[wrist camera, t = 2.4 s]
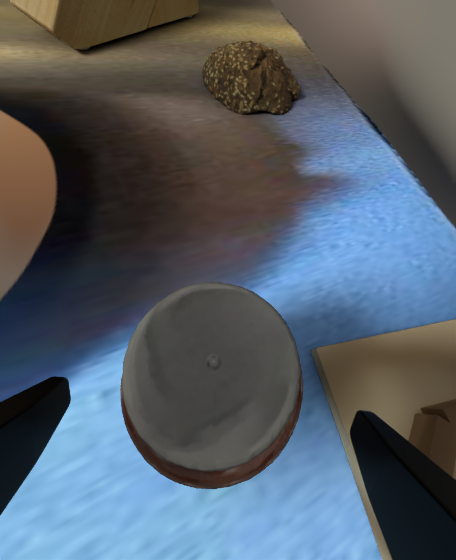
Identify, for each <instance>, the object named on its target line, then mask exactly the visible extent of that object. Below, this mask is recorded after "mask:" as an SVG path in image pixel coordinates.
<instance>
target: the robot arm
mask: <svg viewBox="0 0 456 560" xmlns="http://www.w3.org/2000/svg"><path fill="white" fill-rule="evenodd" d="M70 400H71V396H70V389H69V381H68V379H67V378H64V377H50V378H48V379H46V380H44V381H42V382H40V383H38V384H36V385H34V386H32V387H30V388H28V389H26V390H24V391H22V392H20V393H18V394H16V395H14V396H12V397H10V398H8V399H6V400H4V401H2V402H0V515H1V514H2V512H3V511H4V509H5V508H6V506H7V505H8V503H9V502H10V501H11V499H12V498H13V496H14V495H15V493H16V492H17V490H18V489H19V487H20V486H21V484H22V483H23V482H24V480H25V479H26V477H27V476H28V474H29V473H30V471H31V470H32V468H33V467H34V465H35V464H36V462H37V461H38V459H39V457H40V456H41V454H42V452H43V451H44V449H45V447H46V445H47V444H48V442H49V440H50V438H51V437H52V435H53V433H54V431H55V430H56V428H57V426H58V424H59V423H60V421H61V419H62V417H63V416H64V414H65V412H66V410H67V409H68V407H69V404H70ZM350 438H351V442H352V445H353V448H354V452H355V455H356V458H357V462H358V465H359V469H360V472H361V475H362V479H363V482H364V485H365V489H366V492H367V495H368V498H369V501H370V503H371V506H372V509H373V511H374V514H375V516H376V519H377V522H378V524H379V527H380V529H381V532H382V535H383V537H384V540H385V542H386V545H387V547H388V550H389V553H390V555H391V558H392V560H456V480H455V479H454V478H453V477H452V476H450V475H449V474H448V473H447V472H445V471H444V470H443V469H442V468H441V467H439V466H438V465H437V464H436V463H434V462H433V461H432V460H431V459H430V458H428V457H427V456H426V455H425V454H423V453H422V452H421V451H420V450H419V449H417V448H416V447H415V446H414V445H413V444H411V443H410V442H409V441H408V440H406V439H405V438H404V437H403V436H402V435H400V434H399V433H398V432H397V431H395V430H394V429H393V428H392V427H391V426H389V425H388V424H387V423H386V422H384V421H383V420H382V419H381V418H380V417H378V416H377V415H376V414H375V413H373V412H371V411H365V410H358V411H357V412H356V414H355V417H354V419H353V422H352V425H351V428H350Z"/></svg>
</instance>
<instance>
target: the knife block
mask: <svg viewBox="0 0 456 560" xmlns="http://www.w3.org/2000/svg"><path fill="white" fill-rule="evenodd" d="M10 3H11V4H12V5H13V6H14V7H16V8H17V9H18V10H20V11H21V12H22V13H24V14H25V15H26V16H28V17H29V18H30V19H32V20H33V21H34V22H36V23H37V24H39V25H40V26H41V27H43V28H44V29H46V30H47V31H49V32H50V33H52V34H53V35H55V36H56V37H57V38H59V39H60V40H62V41H63V42H65V43H66V44H68V45H69V46H71V47H73V48H74V49H81V50H86V49H89V47H90V46H94V45H98V44H101V43H104V42H107V41H110V40H114V39H117V38H120V37H123V36H127V35H130V34H133V33H136V32H139V31H142V30H145V29H146V28H150V27H153V26H157V25H160V24H164V23H167V22H171V21H174V20H177V19H181V18H184V17H187V18H190V17H192V16H193V15H194V14H197V13H198V12H199V0H10Z"/></svg>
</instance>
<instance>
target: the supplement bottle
mask: <svg viewBox="0 0 456 560" xmlns="http://www.w3.org/2000/svg"><path fill="white" fill-rule="evenodd" d="M302 394H303V380H302V370H301V365H300V360H299V355H298V351H297V347H296V343H295V340H294V338H293V336H292V334H291V331H290V329H289V327H288V326H287V324H286V322H285V321H284V319H283V318H282V317H281V315H280V314H279V313H278V312H277V311H276V310H275V309H274V307H273V306H272V305H271V304H269V303H268V302H267V301H266V300H264V299H263V298H261V297H260V296H259V295H257V294H255V293H254V292H252V291H250V290H248V289H245V288H243V287H240V286H236V285H232V284H224V283H221V282H209V283H200V284H194V285H190V286H187V287H184V288H182V289H179V290H178V291H176V292H174V293H172V294H170V295H169V296H167V297H166V298H164V299H163V300H160V301H159V302H157V303H156V305H155V306H154V307H153V308H152V309H151V310H150V311H149V312H148V313H147V314H146V315H145V316H144V318H143V319H142V320H141V321H140V323H139V324H138V326H137V328H136V330H135V331H134V333H133V335H132V337H131V339H130V341H129V344H128V348H127V351H126V354H125V358H124V362H123V375H122V379H121V406H122V413H123V417H124V421H125V425H126V428H127V431H128V433H129V435H130V437H131V439H132V441H133V443H134V445H135V446H136V448H137V450H138V451H139V452H140V454H141V455H142V456H143V458H144V459H145V460H146V461H147V463H149V464H150V465H151V466H152V467H153V468H154V469H156V470H157V471H158V472H159V473H160V474H162V475H163V476H165V477H167V478H169V479H170V480H172V481H174V482H177V483H180V484H183V485H186V486H190V487H193V488H201V489H217V488H224V487H230V486H233V485H236V484H238V483H241V482H244V481H246V480H249V479H251V478H252V477H254V476H255V475H257V474H259V473H260V472H261V471H263V470H264V469H265V468H266V467H267V466H269V465H270V464H271V463H273V461H274V460H275V459H276V458H277V457H278V456H279V454H280V453H281V451H282V450H283V449H284V447H285V446H286V444H287V442H288V441H289V439H290V437H291V435H292V433H293V430H294V428H295V426H296V423H297V421H298V417H299V413H300V409H301V403H302Z"/></svg>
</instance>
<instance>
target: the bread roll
mask: <svg viewBox="0 0 456 560" xmlns="http://www.w3.org/2000/svg"><path fill="white" fill-rule="evenodd" d="M202 74H203V80H204V85H205V87H207V89H208V90H209V91H210V93H211V95H212V97H213V98H214V99H216V100H218V101H220V102H221V103H222V104H223V105H224V106H226V107H227V108H228V109H229V110H230V111H233V112H235V113H238V114H248V113H252V112H258V111H268V112H271V113H272V114H273V115H282V114H285V113H286V112H287V111H288V110H289V109H290V107H291V101H294V100H295V99H297V98H298V96H299V91H300V86H298V83H297V81H296V79H295V78H294V76H293V75H292V74H291V70H290V69H288V68H287V66H286V65H285V63H284V62H283V58H282V55H281V54H279V53H278V52H277V50H276V49H275V48H267V47H265V46H264V45H262V44H257V43H253V42H252V41H248V42H243V41H240V42H236V43H230V44H227V45H226V46H223V47H222V48H221V47H217V48H216V51H215V52H214V53H211V54H210V56H209V57H207V59H206V61H205V63H204V66H203V71H202Z"/></svg>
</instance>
